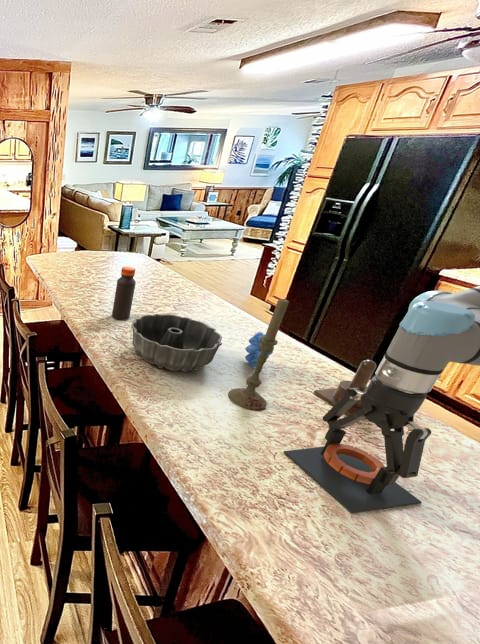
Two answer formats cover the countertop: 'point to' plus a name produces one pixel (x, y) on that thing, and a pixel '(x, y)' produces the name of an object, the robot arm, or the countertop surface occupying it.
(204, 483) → the countertop surface
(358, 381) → the stand
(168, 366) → the bundt pan
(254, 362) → the grapes
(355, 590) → the countertop surface
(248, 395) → the candlestick holder
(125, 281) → the bottle
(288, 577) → the countertop surface
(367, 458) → the ring
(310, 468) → the mat
